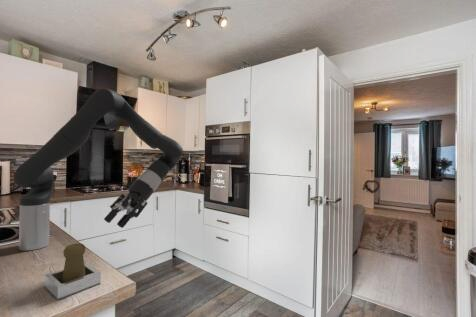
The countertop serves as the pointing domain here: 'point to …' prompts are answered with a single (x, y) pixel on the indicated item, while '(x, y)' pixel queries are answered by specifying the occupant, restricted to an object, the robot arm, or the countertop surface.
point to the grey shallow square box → (71, 282)
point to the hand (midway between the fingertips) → (112, 223)
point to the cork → (73, 262)
